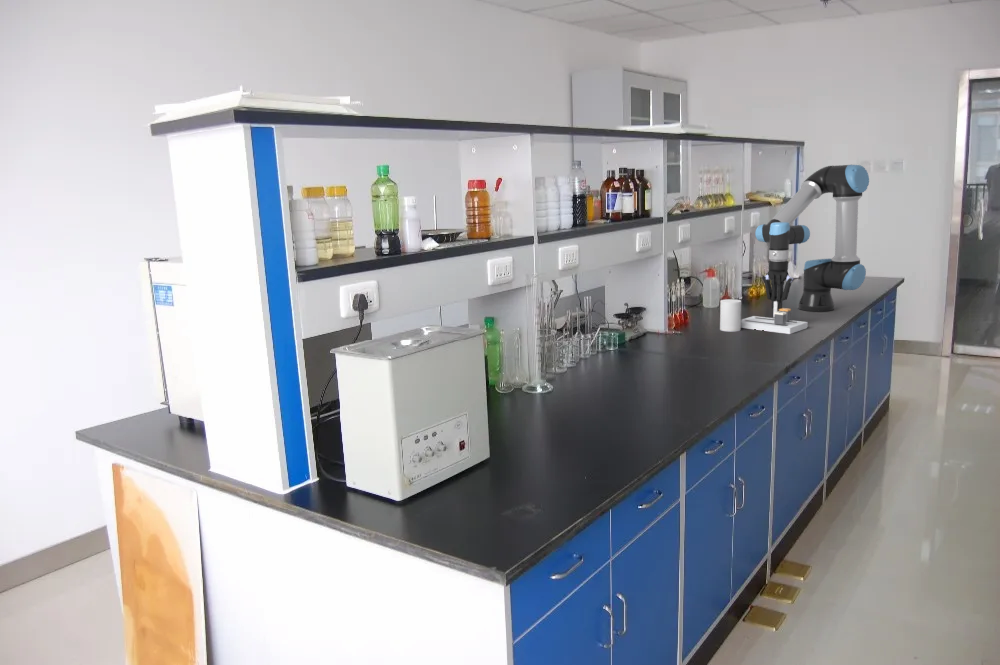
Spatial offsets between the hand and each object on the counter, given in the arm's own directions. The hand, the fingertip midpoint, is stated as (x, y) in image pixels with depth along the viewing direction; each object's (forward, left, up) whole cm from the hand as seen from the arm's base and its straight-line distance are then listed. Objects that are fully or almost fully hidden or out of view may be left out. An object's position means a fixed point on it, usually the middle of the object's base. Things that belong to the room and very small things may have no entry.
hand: (776, 316), depth 306 cm
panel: (+4, 0, -4) cm, 6 cm away
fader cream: (+8, +6, -1) cm, 10 cm away
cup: (+17, -11, -4) cm, 21 cm away
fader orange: (0, +4, -1) cm, 4 cm away
